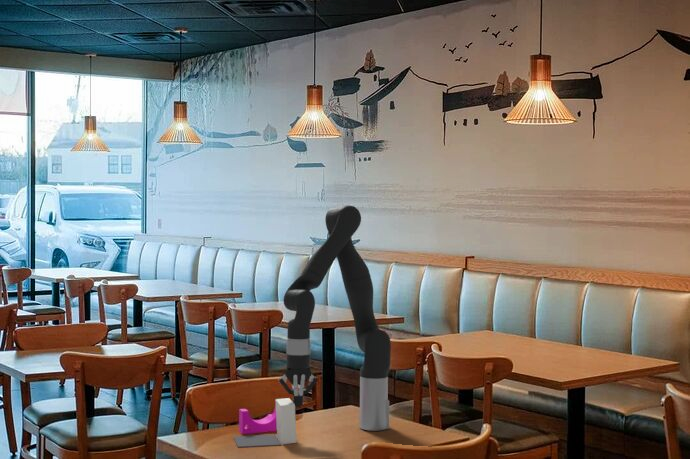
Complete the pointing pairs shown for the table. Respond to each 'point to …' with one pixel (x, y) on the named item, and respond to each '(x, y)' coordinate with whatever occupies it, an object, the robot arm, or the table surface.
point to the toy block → (256, 423)
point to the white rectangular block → (285, 421)
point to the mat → (257, 440)
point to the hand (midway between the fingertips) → (297, 407)
